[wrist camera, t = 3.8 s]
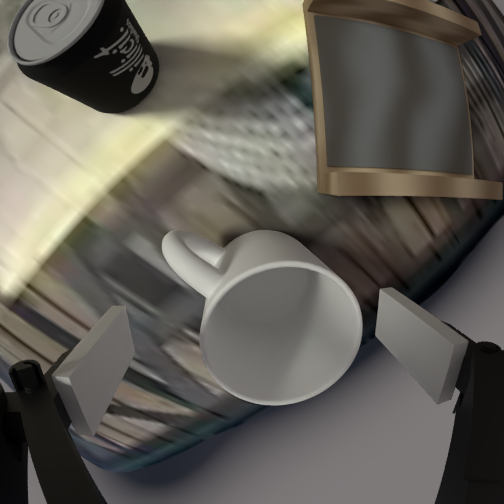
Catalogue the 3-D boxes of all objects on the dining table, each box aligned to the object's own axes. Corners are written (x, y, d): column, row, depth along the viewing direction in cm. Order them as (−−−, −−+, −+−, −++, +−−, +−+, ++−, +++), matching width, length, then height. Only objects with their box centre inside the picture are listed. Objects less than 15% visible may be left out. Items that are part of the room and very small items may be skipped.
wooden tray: (317, 192, 23) (339, 195, 19) (302, 3, 20) (316, -27, 15) (467, 195, 24) (502, 199, 20) (449, 36, 21) (477, 22, 16)
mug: (152, 265, 24) (105, 320, 14) (210, 177, 23) (196, 173, 13) (272, 342, 26) (295, 424, 16) (333, 266, 25) (392, 317, 15)
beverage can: (135, 127, 21) (59, 86, 10) (73, 101, 20) (-17, 61, 9) (176, 56, 20) (139, -30, 9) (112, 35, 19) (50, -38, 8)
